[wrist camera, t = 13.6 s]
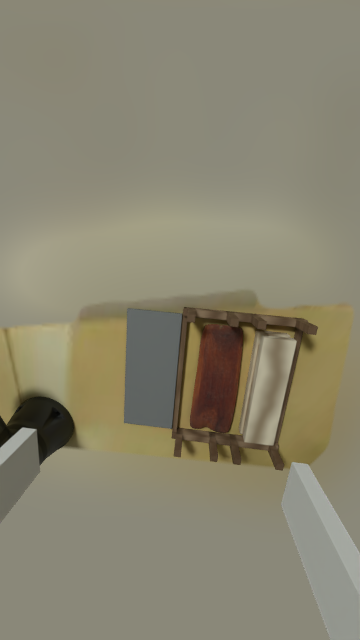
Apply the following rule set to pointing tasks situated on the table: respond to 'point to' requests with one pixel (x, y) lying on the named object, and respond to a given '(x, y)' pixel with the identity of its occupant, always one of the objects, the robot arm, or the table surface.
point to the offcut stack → (266, 386)
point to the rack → (238, 440)
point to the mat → (151, 367)
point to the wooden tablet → (217, 377)
